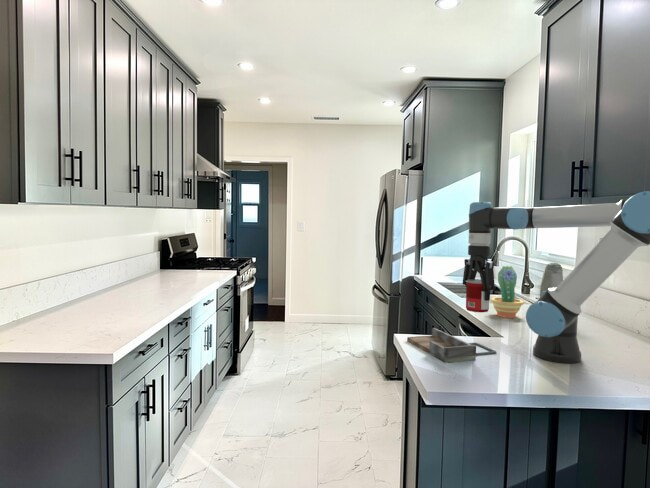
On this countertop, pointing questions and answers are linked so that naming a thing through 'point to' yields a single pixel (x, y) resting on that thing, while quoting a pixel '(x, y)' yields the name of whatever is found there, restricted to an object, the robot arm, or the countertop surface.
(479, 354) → the frame
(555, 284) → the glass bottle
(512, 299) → the potted cactus
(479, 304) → the canned food
